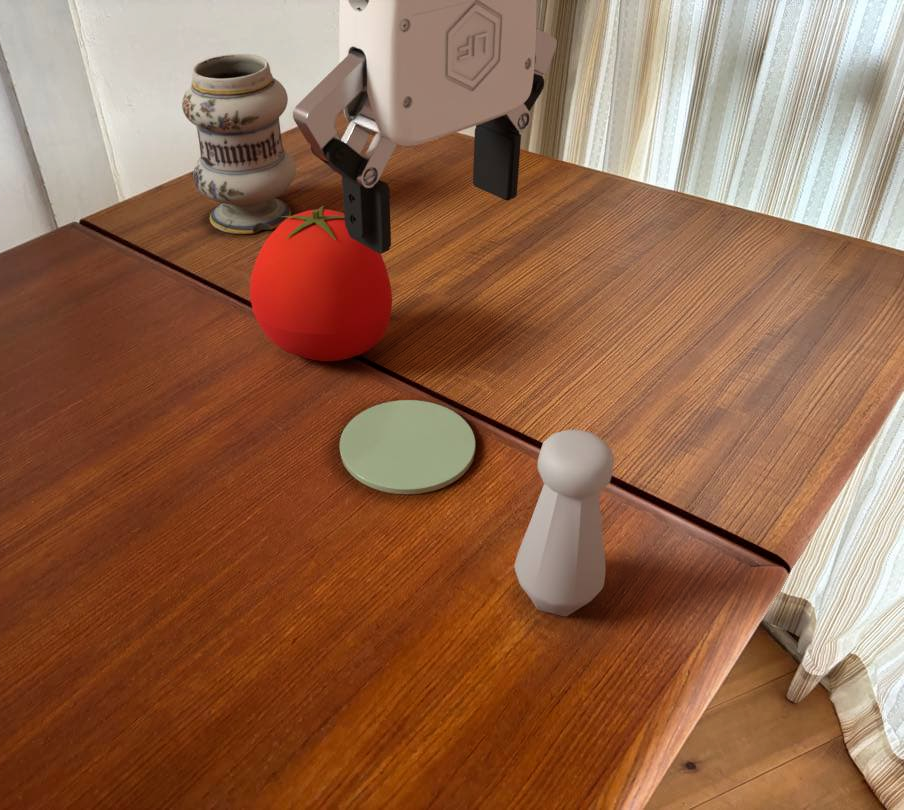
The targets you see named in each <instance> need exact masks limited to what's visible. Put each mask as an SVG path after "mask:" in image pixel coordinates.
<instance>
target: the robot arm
mask: <svg viewBox="0 0 904 810" xmlns="http://www.w3.org/2000/svg"><path fill="white" fill-rule="evenodd" d="M338 20H339V21H338V57H339V58H338V59H339V62H338V65H336V66H335V67H334V68H332V70H331V71H330V72H329V73H328V74H327V75H326V76H325V77H324V78H323V79H322V80H321V81H320V82H319V83H318V84H317V85H316V86H314V87H313V89H312V90H311V91H310V92H309V93H307V95H306V96H305V97H304V98H303V99H302V100H301V101H299V102H298V103H297V104H296V105H295V107H294V108H293V112H292V118H293V121H294V122H295V125H296V126H297V127H298V129H299V131H300V132H301V134H302V136H303V137H304V140H305V141H306V142H307V143H308V144H309V145H310V151H311V152H312V154H313V155H314V156H315V157H316V158H318V160H320V161H322V163H323V164H325V165H326V166H328V167H329V168H330V169H331V171H333V172H334V173H336V174H337V175H340V176H341V184H342V185H341V186H342V200H343V201H342V202H343V213H344V217H345V226H346V228H347V230H348V234H349V236H350V237H351V238H352V239H354V240H356V241H358V242H359V243H361V244H363V245H365V246H366V247H368V248H370V249H372V250H373V251H375V252H377V253H379V254H381V255H382V254H384V253H386V252H389V251H390V249H391V247H392V229H391V225H392V224H391V197H390V195H391V193H390V191H391V189H390V186H389V184H388V183H387V182H385V181H383V180H381V179H380V178H381V176H382V175H383V173H384V171H385V169H386V167H387V165H388V163H389V161H390V159H391V157H392V156H393V154H394V152H395V150H396V149H397V147H398V145H399V146H401V147H415V146H419V145H424V144H427V143H429V142H433V141H435V140H438V139H442V138H444V137H447V136H450V135H452V134H453V135H454V134H456V133H459V132H462V131H464V130H466V129H470V128H473V127H475V128H474V138H473V139H474V140H473V164H472V165H473V167H472V184H473V186H474V187H475V188H478V189H479V190H482V191H484V192H486V193H488V194H491V195H492V196H495V197H498V198H499V199H502V200H505V201H508V202H509V201H510V200H513V199H516V197H517V196H518V186H519V173H520V172H519V171H520V157H521V155H520V154H521V144H522V143H521V142H522V134H521V133H523V132H525V131H526V130H527V129H528V128H529V126H530V124H531V121H532V114H531V112H530V111H531V110H532V108H533V107H534V105H535V104H536V102H537V100H538V99H539V97H540V96H541V94H542V92H543V90H544V87H545V78H544V75H547V72H548V70H549V67H550V64H551V62H552V60H553V57H554V55H555V52H556V49H557V47H558V41H557V39H556V37H554V36H552V35H550V34H549V33H547V32H545V31H543V30H541V29H539V28H537V0H339V17H338ZM341 112H343V113H344V117H345V119H346V121H347V122H348V125H347V127H346V129H345V131H344V133H343V135H342V136H341V137H340V135H339V134H338V133H339V131H338V129H337V127H336V120H337V117H338V115H340V113H341ZM371 135H372V136H373V138H372V140H371V142H370V144H369V145H368V147H367V150H366V152H365V154H364V155H363V156H362V155H361V153H362V151H363V149H364V147H365V146H366V144H367V142H368V140H369V139H370V136H371Z"/></svg>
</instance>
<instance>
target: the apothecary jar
mask: <svg viewBox="0 0 904 810" xmlns="http://www.w3.org/2000/svg"><path fill="white" fill-rule="evenodd" d="M191 71H192V72H191V78H192V80H191V85H190V86H189V87H188V89H187V90H186V91H185V93H184V95H183V97H182V101H181V108H182V112H183V114H184V116H185V118H186V119H187V120H188V121H189V122H190V123H191V124H192V125H194V126H196V132H197V138H198V143H199V152H200V157H199V158H198V160H197V161H196V163H195V166H194V169H193V174H192V176H193V182H194V185H195V187H196V189H197V190H198V191H199V192H200V193H201V194H202V195H204V196H205V197H206V198H208V199H210V200H212V201H214V202H216V203H218V204H219V203H220V204H219V205H217V206H216V207H215V208H213V209H212V211H211V212H210V214H209V222H210V224H211V225H212V226H213V227H214V228H215V229H217V230H219V231H221V232H223V233H226V234H232V235H253V234H256V233H259V232H261V231H271V230H276V228H277V227H278V226H279V225H280V224H281V223H282V222H283V221H285V220H286V219H287V218H289V217H279V216H292V215H291V214H292V211H291V208H290V206H289V205H288V204H287V203H286V202H285V201H283V200H281V199H280V198H277V197H279V196H280V195H282V194H283V193H285V192H286V191H287V190H288V189H289V187H291V185H292V183H293V182H294V180H295V178H296V173H297V166H296V162H295V160H294V158H293V157H292V155H291V154H290V153H289V152H288V151H287V150H286V149H285V148H284V145H283V139H282V132H281V131H282V130H281V124H280V123H281V122H280V117H281V116H282V115H283V113H284V112H285V110H286V109H287V105H288V101H289V97H288V93H287V90H286V88H285V87H284V85H283V84H282V83H281V82H280V81H279V80H278V79H276V78H275V77H273V74H272V72H271V66H270V64H269V61H267V59H266V58H264V57H262V56H259V55H256V54H249V53H229V54H223V55H217V56H213V57H212V56H211V57H209V58H206V59H204V60H201V61H199V62H198V63H197V64H195V65H193V68H192V70H191Z"/></svg>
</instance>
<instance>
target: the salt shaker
mask: <svg viewBox="0 0 904 810" xmlns="http://www.w3.org/2000/svg"><path fill="white" fill-rule="evenodd" d="M614 459H615V458H614V453H613V451H612V449H611V447H610V445H609V444H608V443H607V442H606V441H605V440H603V439H602V438H600V437H599V436H598V435H597V434H595V433H593V432H590V431H587V430H583V429H564V430H561V431H557V432H554V433H552V434H551V435H550V436H549V437H547V438H546V439H545V440H544V441H543V442H542V445H541V448H540V452H539V454H538V457H537V471H538V473H539V475H540V478H541V480H542V483H543V486H542V489H541V491H540V495H539V497H538V500H537V503H536V505H535V508H534V510H533V513H532V516H531V519H530V521H529V524H528V526H527V529H526V531H525V534H524V535H523V539H522V541H521V543H520V546H519V549H518V551H517V555H516V558H515V562H514V572H515V574H516V577H517V581H518V583H519V586H520V587H521V589H522V590H523V591H524V592H525V594H526V595H527V596H528V598H529V599H530V600H531V601H532V603H533V605H534V606H535V608H536V609H537V610H538V611H540V612H544V613H548V614H551V615H552V614H553V615H557V616H561V617H568V616H569V615H572V614H573V613H575V612H576V611H577V610H579V609H581V608H583V607H584V606H586V605H587V604H589V603H590V602H592V601H593V600H594V598H596V596H598V594H599V593H600V592H601V591H602V590H603V588H604V586H605V579H606V572H607V567H606V556H605V545H604V536H603V535H604V534H603V524H602V513H601V501H600V493H601V492H602V491H603V490H604V489H605V488H606V487H607V486H609V484H610V483H611V479H612V476H613V471H614V465H615V461H614Z"/></svg>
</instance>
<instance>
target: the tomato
mask: <svg viewBox="0 0 904 810" xmlns="http://www.w3.org/2000/svg"><path fill="white" fill-rule="evenodd" d="M279 217H289V218H287V219H286V220H285V221H283V222H282V223H281V224H280V225H279V226H278V227H277V228H275V229H274V231H272V233H271V234H270V235H269V236H268V237H267V238H266V240H265V241H264V242H263V245H262V247H261V249H260V251H259V252H258V255H257V257H256V259H255V262H254V266H253V268H252V272H251V276H250V285H249V286H250V287H249V299H250V303H251V308H252V312H253V316H254V317H255V320H256V322H257V324H258V326H259V327H260V329H261V330H262V332H263V333H264V334H265V335H266V337H267V338H268V339H269V340H270V341H271V342H272V343H273V344H274V345H276V346H277V347H278V348H280V349H281V350H282V351H284V352H287V353H288V354H290V355H294V356H296V357H301V358H304V359H309V360H313V361H320V362H336V361H342V360H347V359H351V358H354V357H357V356H360V355H363V354H364V353H366V352H368V351H370V350H371V349H373V348H374V347H376V346H377V345H378V344H379V343H380V341H381V340H382V339H383V338H384V335H385V334H386V333H387V331H388V327H389V324H390V320H391V317H392V307H393V292H392V285H391V281H390V277H389V273H388V269H387V265H386V263H385V261H384V258H383V256H382V253H381V254H379V253H377V252H375V251H373V250H372V249H370V248H368V247H366V246H365V245H363V244H361V243H359V242H358V241H356V240H354V239H352V238H351V237H350V236H349V234H348V230H347V228H346V226H345V217H344V212H341V211H337V210H333V209H327V208H326V209H324V205H322V206H320V207H319V208H318V209H317V208H316V209H309V210H305V211H301V212H299V213H296V214H293V215H290V216H279Z"/></svg>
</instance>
